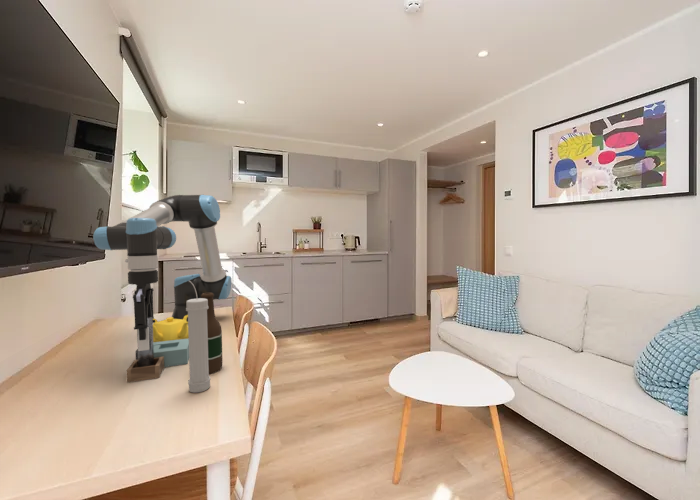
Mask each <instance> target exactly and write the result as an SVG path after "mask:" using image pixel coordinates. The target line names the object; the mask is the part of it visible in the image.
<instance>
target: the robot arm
mask: <svg viewBox="0 0 700 500" xmlns="http://www.w3.org/2000/svg"><path fill="white" fill-rule="evenodd" d="M220 219H221V209H220V205H219V203H218V201H217V199H216V198H215V197H214V196H213V195H207V194H175V195H170V196H167V197H164V198H161V199H159V200H157V201H155V202H153V203H151V205H150V206H149V208H147V209H145V210H143V211H141V212H139V213H137V214H135V215H133V216H131V217H129V218H128V219H126V220H124V221H122V222H119V223H118V224H116V225H113V226H108V225H107V226H106V225H105V226H99V227H97V228H96V229H95V230H94V232H93V236H92V237H93V238H92V239H93V242H94V243H93V244H94V245H95V246H96V247H97V248H98V249H99V250H102V251H103V250H105V251H107V250H108V251H123V250H124V251H127V253H126V256H127V259H125V261H124V262H125V263H127V269H128V270H129V271H128V272H127V281H128V282H127V283H128V285H135V286H136V289H135V290H134V294H133V295H132V299H133V310H134V311H133V313H134V327H133V330H134V331H135V330H136V334H138V344H137V349H138V351H143V350H149V327H148V317H153V319H155V318H154V317H155V316H154V288H153V287H151V286H152V285H151V284H155V283H158V282H159V271H158V267H159V256H158V250H167V249H170V248H171V247H173V246H174V245H175V244H176V241H177V234H176V232H175V230H173V229H172V228H170V227H166V226H165V225H167V224H169V223H171V222H173V223H174V222H188V225H189V227H190V228H191V229H192V230H193V231H194V236H195V240H196V245H197V249H198V254H199V258H200V264H201V268H202V272H203V273H202V274H200V273H194V274H187V275H181V276H177V277H175V279H174V283H173V284H174V285H173V290H174V291H173V292H174V308H173V312H172V315H171V317H173V319H183V318H184V316H186V315H188V311H186V308H187V305H186V302H187V301H188V300H190V299H197V298H201V294H203V293H209V292H210V293H213V294H214V296H213V300H226V299H228V298H229V296H230V294H231V289H232V277H231V276H230V275H227V272H226V270H224V269H223V267H222V262H221V258H220V257H221V256H220V251H219V246H218V239H217V235H216V229H215V227H216V226H217V225H218V222H219V221H220ZM161 225H162V226H161ZM163 225H164V226H163ZM189 281H191V282H192V283H193V285H194V286H193V285H192V284H191V282H189ZM194 287H195V289H196V292H197V297H196V292H195V289H194ZM186 321H187V322H188V317H187V320H186ZM153 323H155V320H153Z"/></svg>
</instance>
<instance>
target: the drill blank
mask: <svg viewBox="0 0 700 500" xmlns="http://www.w3.org/2000/svg"><path fill="white" fill-rule="evenodd" d="M148 327H149V350H143V351H138V367H144V366H152V365H154V346H153V317H148ZM136 334H137V333H136ZM136 338H137V339H136V340H137V341H136V342H137V345H138V334H137V335H136Z"/></svg>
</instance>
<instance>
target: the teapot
mask: <svg viewBox="0 0 700 500" xmlns="http://www.w3.org/2000/svg"><path fill="white" fill-rule="evenodd" d="M187 317H188V315H186V316H184V318H183V319H173V317H172V316H169V317H166V319H162V320H159V321H158V319H156V318H154V319H153V320H155V323H153V342H161V341H170V340H179V339H188V338H189V335H188V322H187V321H186V320H187Z"/></svg>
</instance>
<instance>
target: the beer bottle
mask: <svg viewBox="0 0 700 500" xmlns="http://www.w3.org/2000/svg"><path fill="white" fill-rule="evenodd" d="M213 296H214V294H213V293H210V292H209V293H203V294H201V298H205V299H207V300H208V306H209V309H207V329H208V366H209V375H212V374H215V373H217V372H219V371H221V369H222V367H223V332H222V325H221V323H220V321H219V320H218V319H217V317H216V314H215V304H214V299H213Z"/></svg>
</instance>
